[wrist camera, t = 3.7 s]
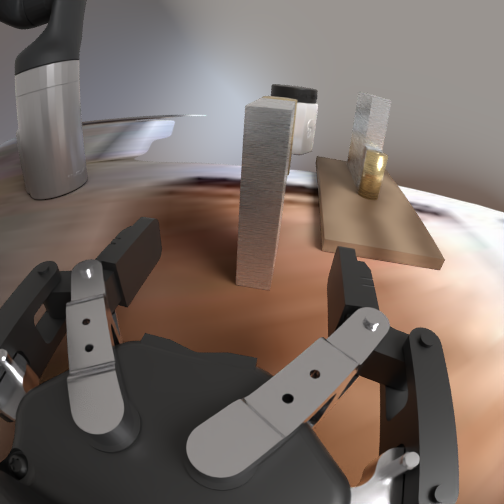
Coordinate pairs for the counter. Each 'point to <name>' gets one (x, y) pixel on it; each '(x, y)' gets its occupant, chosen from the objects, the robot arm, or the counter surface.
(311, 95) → the jar
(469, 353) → the counter surface
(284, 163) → the brushed metal block
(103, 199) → the counter surface
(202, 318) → the counter surface
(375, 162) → the fixed leaf
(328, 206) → the jig board
